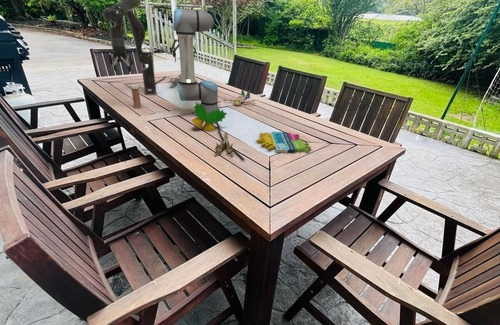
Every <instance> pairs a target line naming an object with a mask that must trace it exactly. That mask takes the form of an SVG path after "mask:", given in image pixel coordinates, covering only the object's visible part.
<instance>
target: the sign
mask: <svg viewBox="0 0 500 325" xmlns="http://www.w3.org/2000/svg"><path fill="white" fill-rule="evenodd" d="M299 136H300V135H299V134H298V133H296V134H294V133H291V132H287V131H270V132H264V133H263V132H260V133H259V139H258V138H257V139H256V143H257V144H261V148H263V147H264V148H265V149H267V151H268V152H271V151H272V150H273V149H275V152H276V153H283V154H285V153H287V154H288V153H290V154H293V153H296V152H298V153H301V152H305V153H310V151H311V150H312V149H311V148H312V146H309V142H304V141H303V139H302V138H299Z"/></svg>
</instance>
